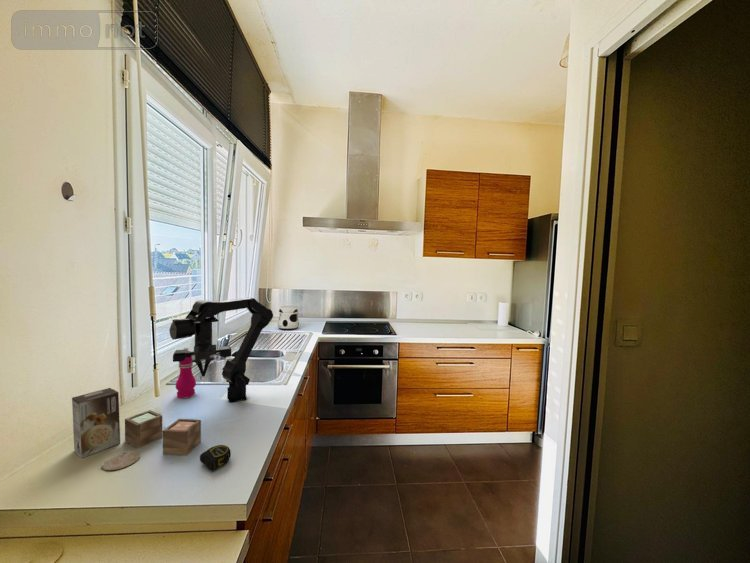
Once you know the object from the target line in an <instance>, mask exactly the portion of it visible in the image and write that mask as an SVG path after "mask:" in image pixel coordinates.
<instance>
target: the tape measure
mask: <svg viewBox="0 0 750 563" xmlns="http://www.w3.org/2000/svg"><path fill="white" fill-rule="evenodd" d="M229 447H230V446H228V445H225V444H218V445H214V446H212V447H210V448H208V449H207V450H205V451H204V452H202V453H200V455H199V462H200V463H201V464H202V465H204V466H206V467H207V469H209V470H210V471H212V472H214V471H216V470H218V468H221V467H224V466H225V465H227V463H228V462H229V461H230V459H231V454H232V452H231V448H229Z"/></svg>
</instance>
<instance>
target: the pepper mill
mask: <svg viewBox="0 0 750 563" xmlns="http://www.w3.org/2000/svg"><path fill="white" fill-rule="evenodd" d="M184 349H187V352H192V351H191V350H189V348H188V347H184V348H183V349H182V350H184ZM193 366H194V362H192V357H186V359H185V360H184V361H178V368H179V376H178V377H177V380H176V382H175V390H176V391H177V392H176V397H177V398H178V399H187V398H190V397H193V396H194V395H195V394H196V393H195V390H196V389H195V387H196V385H197V381H196V378H195V377H194V373H193V368H192V367H193Z"/></svg>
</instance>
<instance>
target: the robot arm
mask: <svg viewBox="0 0 750 563" xmlns="http://www.w3.org/2000/svg"><path fill="white" fill-rule="evenodd" d="M241 309H242V310H243V309H247V310H248V312H249V313H250V314H251V318H250V327H249V328H248V330H247V332H246V334H245V336H244V339H243V340H242V342H241V344H240V346H239V348H238V349H237V351H236V354H235V356H234V358H232V359H231V360H229V359H227V360H226V362H225V364H224V366H223V368H221V370H222V372H221V375H222V378H223V379H224V380H226V383H228V386H227V387H226V390H227V393H226V394H227V396H226V397H227V400H228V403H234V402H240V401H245V400H247V386H248V385H249V383H250V381H251V379H250V378H249V377H247V376H246V375H245V373H246V371H247V361H248V359H249V357H250V355H251V353H252V351H253V349H254V347H255V345H256V342H257V341H258V339H259V336H260V335H261V333H262V332H263V330H264V329H265V328H266V327H267V326H268V325H269V324H270V323H271V321H272V319H273V317H274V314H273V313H274V312H273V311H272V310H271V309H270V308H267V307H266V306H265V305H263V304H262V303H260V302H259V301H258V300H256V298H253V297H249V296H248V297H244V298H237V299H227V300H221V301H220V300H219V301H214V300H202V299H201V300H196V301H195V302H194V303H193V305H192V308H191V310H190V311H189V312H188V313H187V315H186V316H185V318H179V319H178V318H177V319H172V320H171V321H172V323H171V324H170V327H169V336H170V338H171V339H172V340H179V339H185V338H186V339H187V338H191V337H193V336H194V346H193V351H191V352H187V349H184V348H183V349H184V350H183V349H176V350H175V351H174V352H173V354H172V363H173V362H174V363H175V362H176V363H177V362H178V361H184V360H185V359H186V357H192V362H193V363H195V364H196V366H197V367H198V370H199V372H200V375H201V377H205V376H206V373H207V371H208V368H209V366H210V364H211V363H212V362H211V361H215V356H218V355H219V356H220V357H221V358H230V357H232V346H230V345H224V346H219V349H217V344H213V323H216V322H217V323H218V322H219V319H217V318H216V316H217V315H218V314H221V313H223V312H228V311H230V312H231V311H237V310H241ZM203 361H204V364H203ZM178 363H179V362H178ZM203 365H204V366H203Z"/></svg>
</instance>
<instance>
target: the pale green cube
mask: <svg viewBox="0 0 750 563" xmlns="http://www.w3.org/2000/svg"><path fill="white" fill-rule="evenodd" d="M154 417H156V416H154V415H152V414H149V413H147V414H144V415H141V416H139V417H136V418H133V419H131V420H133V421H135V422H137V423H141V422H144V421H146V420H149V419H151V418H154Z"/></svg>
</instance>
